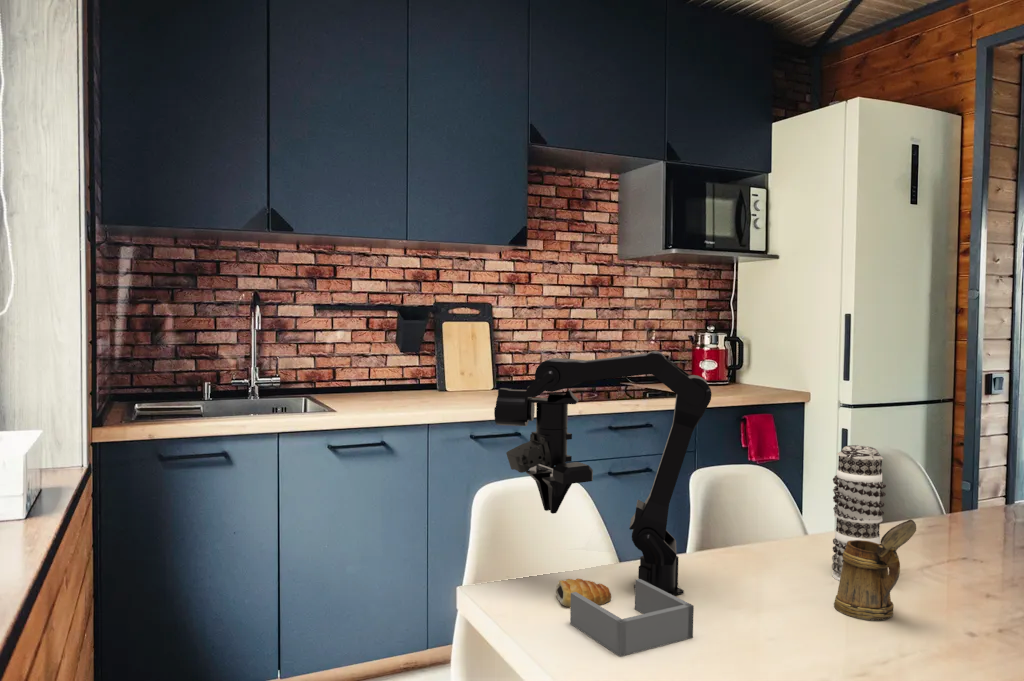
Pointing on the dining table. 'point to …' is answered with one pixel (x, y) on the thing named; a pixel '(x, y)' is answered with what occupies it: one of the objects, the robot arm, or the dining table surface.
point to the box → (635, 621)
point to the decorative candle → (856, 499)
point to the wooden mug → (871, 574)
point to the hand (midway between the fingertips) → (550, 511)
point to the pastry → (582, 591)
